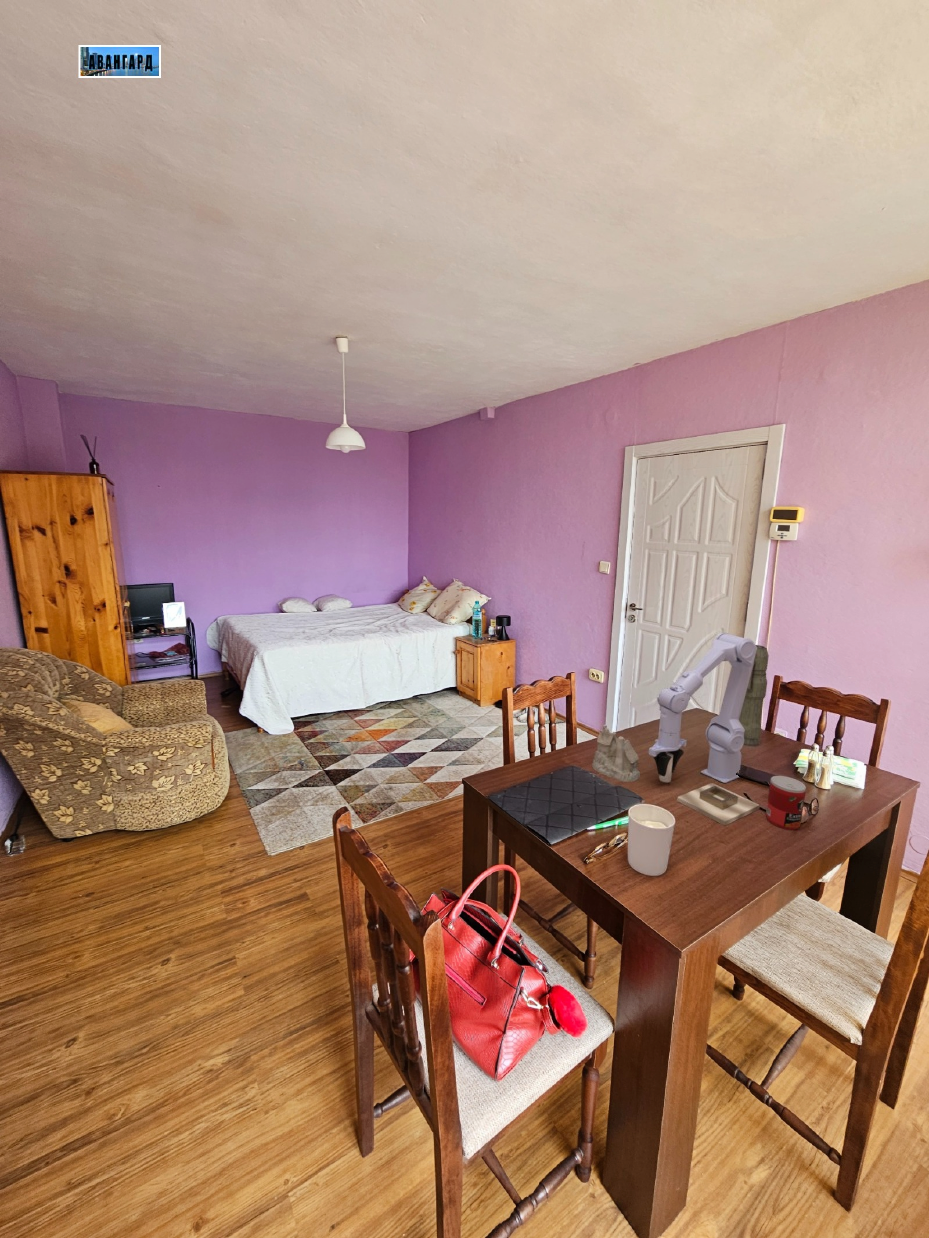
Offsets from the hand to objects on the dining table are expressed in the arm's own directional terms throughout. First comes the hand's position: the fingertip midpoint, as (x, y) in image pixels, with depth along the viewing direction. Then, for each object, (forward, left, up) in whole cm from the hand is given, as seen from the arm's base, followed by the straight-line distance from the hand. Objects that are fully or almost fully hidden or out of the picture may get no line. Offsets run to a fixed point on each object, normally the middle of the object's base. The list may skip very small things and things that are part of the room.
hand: (665, 773), depth 153 cm
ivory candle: (0, 0, -2) cm, 2 cm away
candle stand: (-3, +15, -4) cm, 16 cm away
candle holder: (+35, +22, -4) cm, 42 cm away
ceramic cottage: (+4, -14, -4) cm, 15 cm away
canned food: (-10, +29, -4) cm, 31 cm away
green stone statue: (-53, -6, -4) cm, 53 cm away
